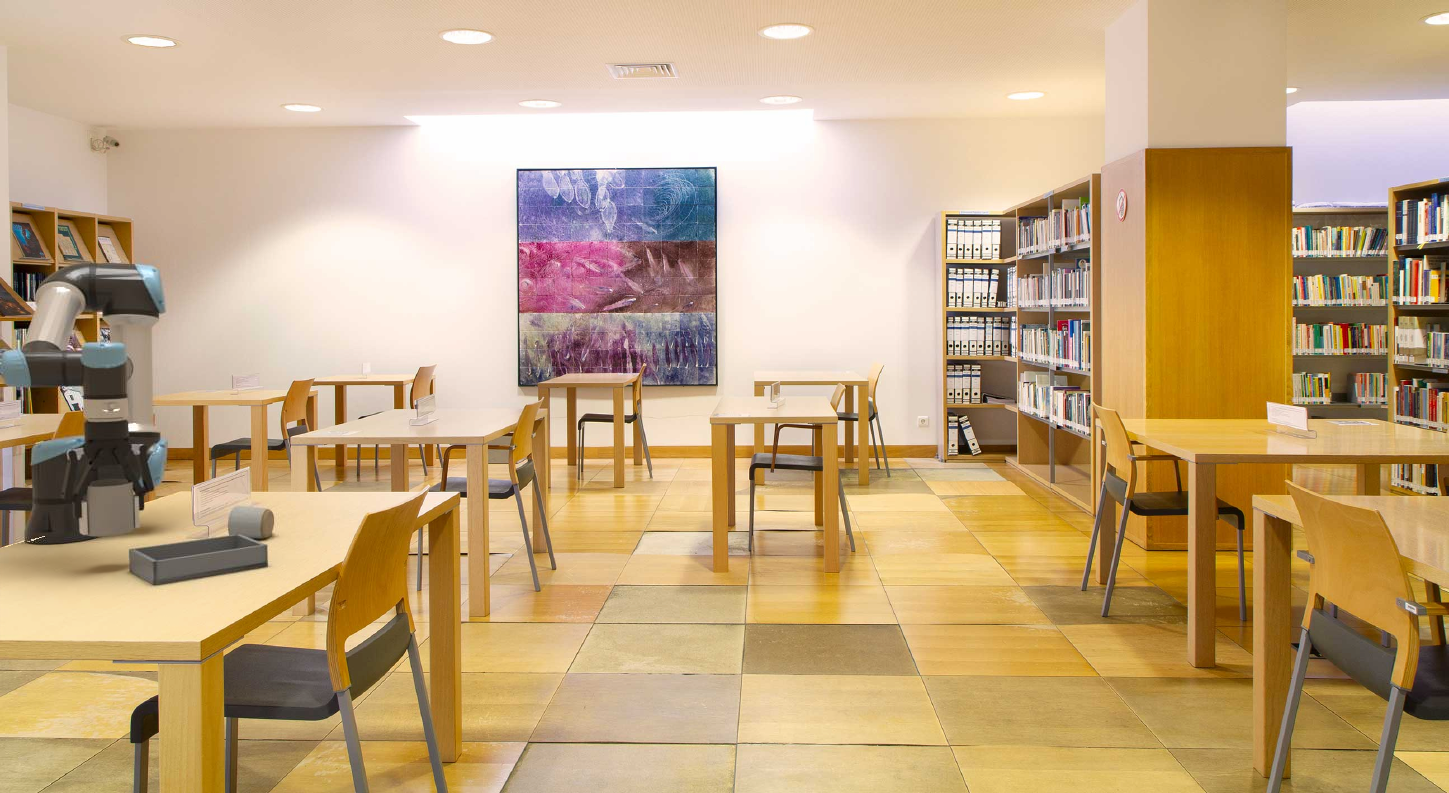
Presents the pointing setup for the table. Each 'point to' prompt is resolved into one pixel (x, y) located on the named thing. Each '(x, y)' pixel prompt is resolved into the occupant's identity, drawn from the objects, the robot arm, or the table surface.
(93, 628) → the table surface
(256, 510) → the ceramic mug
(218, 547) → the slate bin
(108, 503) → the cup
